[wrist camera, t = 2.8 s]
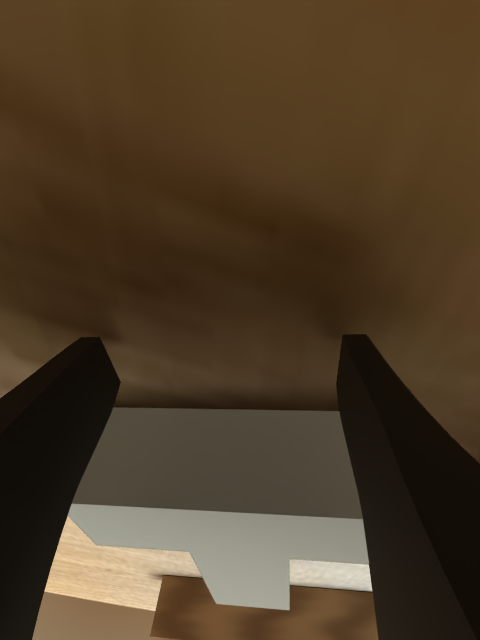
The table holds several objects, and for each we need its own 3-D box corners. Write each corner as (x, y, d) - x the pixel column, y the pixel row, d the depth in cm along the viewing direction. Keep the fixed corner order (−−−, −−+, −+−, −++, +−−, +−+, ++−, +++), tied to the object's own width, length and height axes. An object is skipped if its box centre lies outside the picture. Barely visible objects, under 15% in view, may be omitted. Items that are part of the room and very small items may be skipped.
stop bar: (374, 592, 28) (386, 661, 24) (371, 599, 29) (382, 665, 26) (163, 575, 30) (150, 636, 27) (168, 582, 31) (156, 641, 28)
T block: (388, 411, 13) (423, 522, 10) (353, 531, 21) (367, 617, 18) (102, 407, 15) (55, 502, 12) (165, 520, 22) (146, 597, 19)
